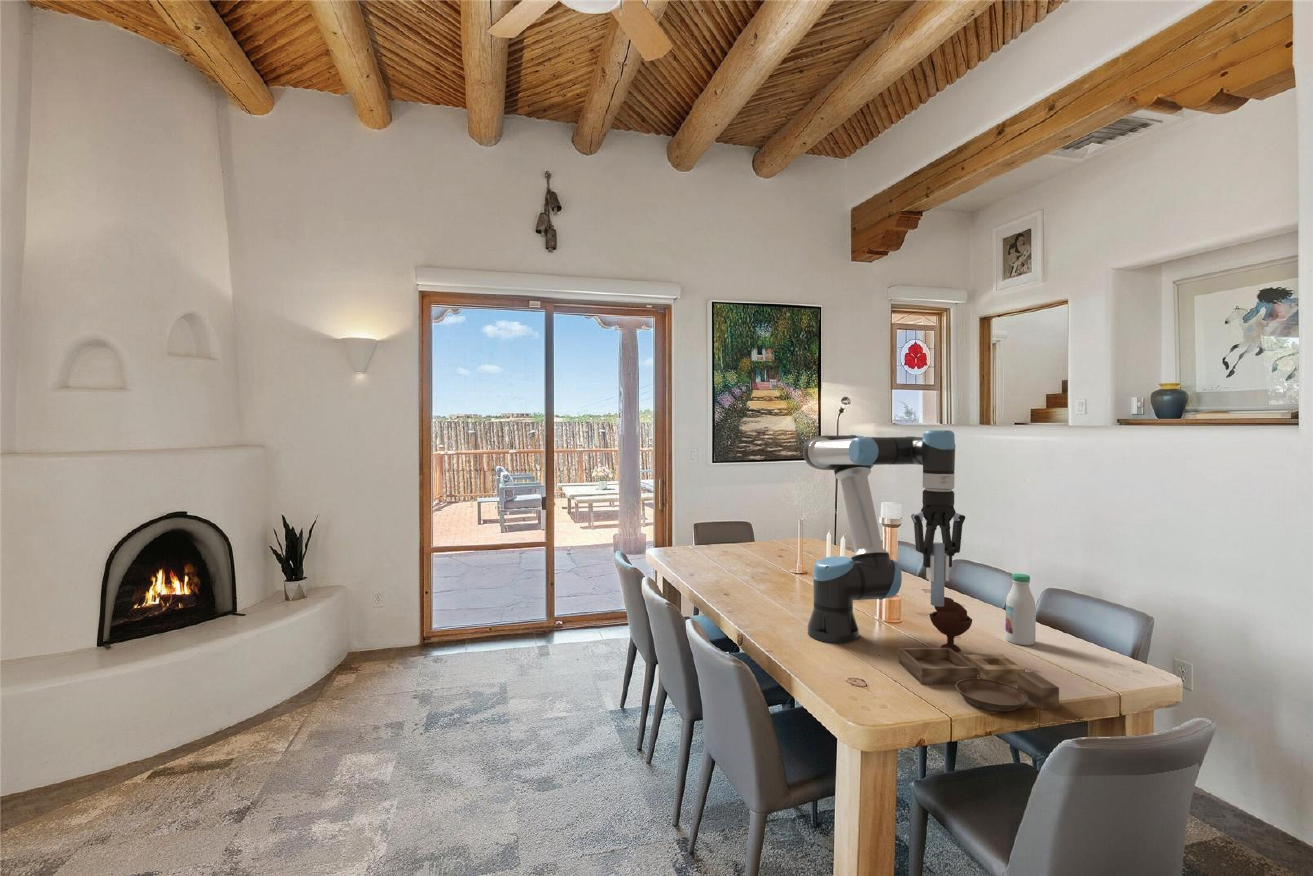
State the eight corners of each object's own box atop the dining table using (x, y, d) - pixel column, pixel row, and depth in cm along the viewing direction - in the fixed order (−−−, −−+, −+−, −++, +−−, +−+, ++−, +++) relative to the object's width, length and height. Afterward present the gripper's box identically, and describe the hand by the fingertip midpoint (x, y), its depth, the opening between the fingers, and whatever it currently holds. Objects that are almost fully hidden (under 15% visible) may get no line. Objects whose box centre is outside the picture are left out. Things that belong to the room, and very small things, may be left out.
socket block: (985, 681, 155) (986, 669, 155) (965, 665, 165) (965, 654, 165) (1025, 681, 155) (1025, 669, 155) (1002, 665, 165) (1002, 654, 165)
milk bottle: (1038, 641, 184) (1038, 574, 183) (1032, 648, 178) (1032, 579, 178) (1009, 635, 189) (1009, 570, 188) (1002, 641, 183) (1002, 575, 183)
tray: (921, 684, 153) (921, 668, 153) (898, 662, 167) (898, 648, 167) (977, 684, 153) (977, 668, 153) (949, 662, 167) (949, 647, 167)
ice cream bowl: (955, 659, 170) (955, 605, 169) (921, 646, 180) (921, 595, 179) (980, 652, 174) (980, 600, 174) (945, 640, 184) (946, 590, 184)
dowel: (934, 606, 158) (934, 544, 158) (928, 603, 161) (929, 542, 161) (946, 606, 158) (947, 544, 158) (940, 603, 162) (941, 542, 161)
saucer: (952, 684, 154) (953, 673, 154) (1020, 694, 148) (1020, 682, 148) (958, 710, 140) (959, 698, 140) (1033, 721, 135) (1034, 709, 134)
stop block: (1041, 709, 140) (1041, 687, 139) (1017, 692, 149) (1017, 671, 148) (1058, 709, 140) (1058, 687, 140) (1033, 692, 149) (1033, 671, 149)
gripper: (913, 491, 155) (912, 583, 156) (977, 491, 156) (976, 583, 156) (901, 488, 163) (900, 576, 163) (961, 488, 163) (960, 576, 164)
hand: (937, 579), depth 160 cm, fingers closed on dowel, 3 cm apart
